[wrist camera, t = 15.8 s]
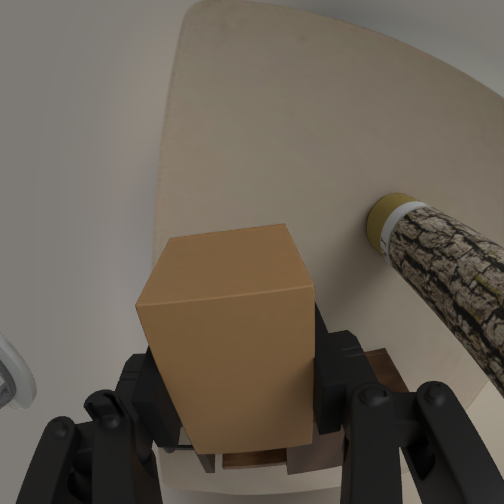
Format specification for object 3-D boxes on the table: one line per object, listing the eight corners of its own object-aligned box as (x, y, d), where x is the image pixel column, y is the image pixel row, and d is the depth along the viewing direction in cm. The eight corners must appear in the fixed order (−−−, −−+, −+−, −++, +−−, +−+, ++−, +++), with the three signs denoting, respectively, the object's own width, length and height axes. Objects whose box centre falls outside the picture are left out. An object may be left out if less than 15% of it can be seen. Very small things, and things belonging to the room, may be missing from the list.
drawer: (172, 431, 41) (166, 472, 34) (149, 382, 37) (137, 428, 30) (298, 422, 41) (306, 465, 34) (298, 371, 37) (309, 419, 30)
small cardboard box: (294, 363, 16) (312, 444, 11) (204, 372, 16) (197, 454, 11) (285, 223, 13) (314, 285, 8) (170, 237, 13) (134, 305, 8)
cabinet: (280, 422, 42) (287, 474, 33) (276, 366, 37) (285, 426, 28) (371, 406, 42) (390, 453, 33) (385, 347, 37) (413, 399, 28)
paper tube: (386, 178, 29) (604, 307, 6) (428, 212, 30) (607, 343, 7) (351, 234, 31) (511, 432, 8) (396, 262, 32) (540, 432, 9)
